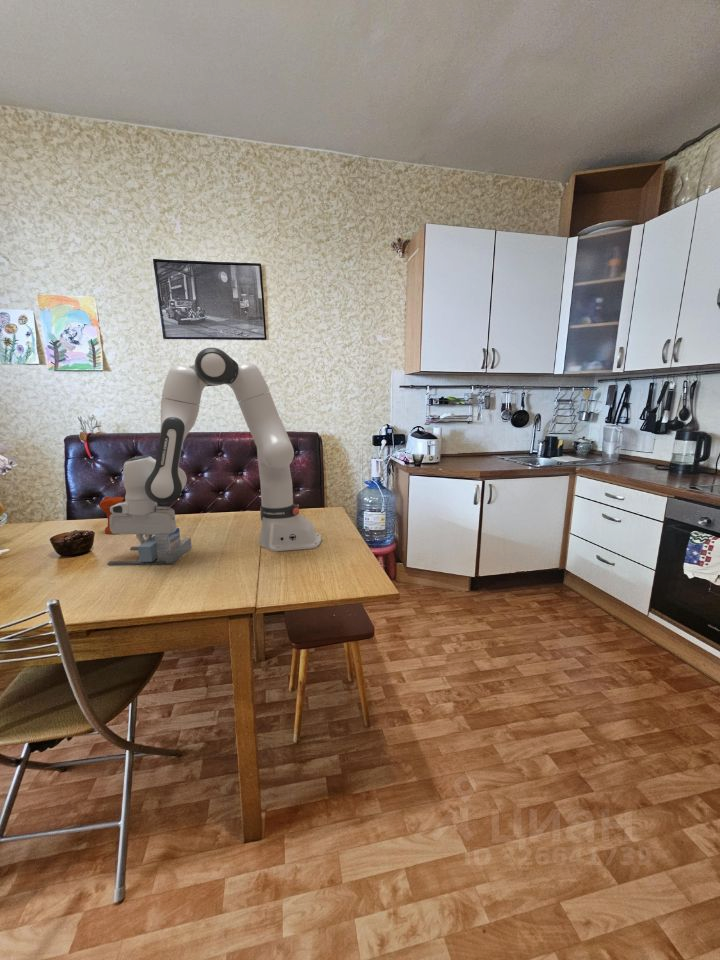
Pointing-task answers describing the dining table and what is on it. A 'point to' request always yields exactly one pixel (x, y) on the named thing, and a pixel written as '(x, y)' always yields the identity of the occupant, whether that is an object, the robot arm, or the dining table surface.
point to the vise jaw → (147, 550)
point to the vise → (171, 555)
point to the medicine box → (166, 543)
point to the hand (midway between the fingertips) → (145, 546)
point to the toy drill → (106, 505)
